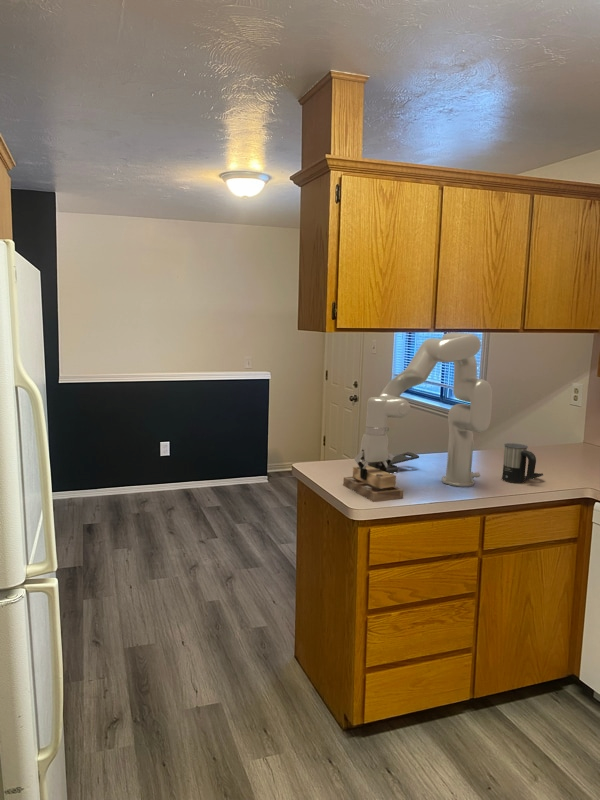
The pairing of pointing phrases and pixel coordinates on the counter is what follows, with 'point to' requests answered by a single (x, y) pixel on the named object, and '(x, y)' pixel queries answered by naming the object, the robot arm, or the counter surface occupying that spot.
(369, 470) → the tan rectangular block
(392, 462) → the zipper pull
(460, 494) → the counter surface
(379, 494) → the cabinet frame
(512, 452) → the milk frother
